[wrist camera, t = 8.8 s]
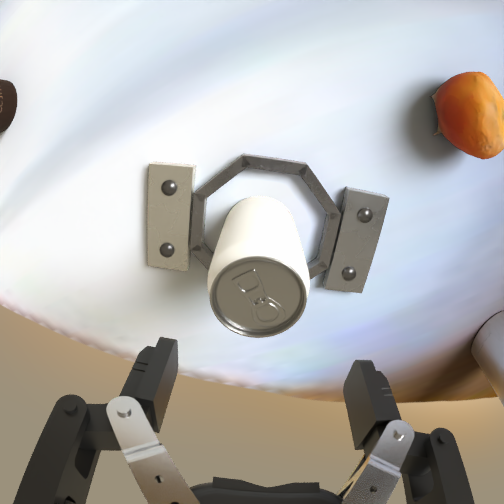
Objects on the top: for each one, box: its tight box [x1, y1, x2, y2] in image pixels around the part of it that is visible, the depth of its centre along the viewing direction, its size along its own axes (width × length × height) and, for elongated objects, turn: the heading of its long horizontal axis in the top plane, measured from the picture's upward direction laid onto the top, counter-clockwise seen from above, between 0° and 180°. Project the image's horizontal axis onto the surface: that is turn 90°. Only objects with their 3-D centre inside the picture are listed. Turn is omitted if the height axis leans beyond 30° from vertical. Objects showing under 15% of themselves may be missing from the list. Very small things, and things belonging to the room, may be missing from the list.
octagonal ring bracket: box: [147, 154, 389, 293], centre depth 28 cm, size 22×13×1 cm, turn 82°
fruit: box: [430, 72, 504, 159], centre depth 20 cm, size 8×8×8 cm
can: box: [207, 196, 310, 338], centre depth 23 cm, size 6×6×12 cm
